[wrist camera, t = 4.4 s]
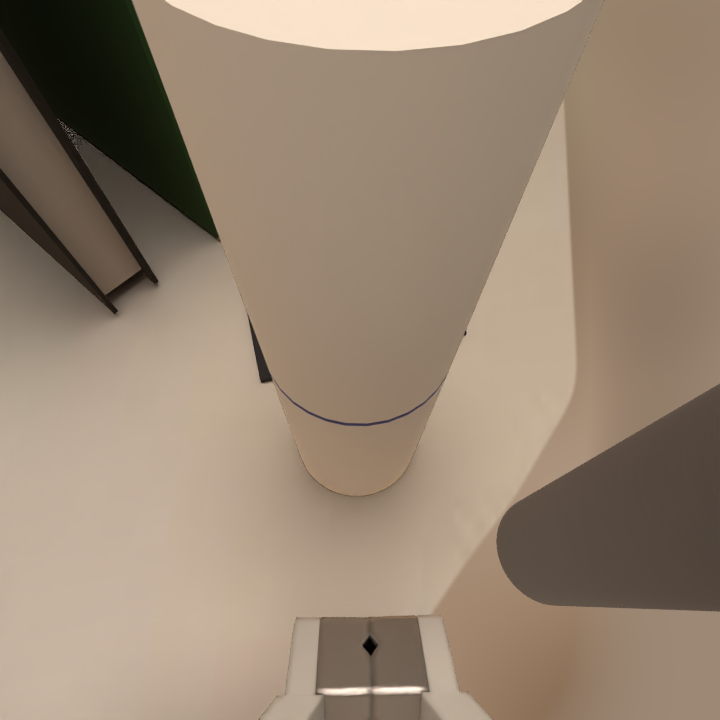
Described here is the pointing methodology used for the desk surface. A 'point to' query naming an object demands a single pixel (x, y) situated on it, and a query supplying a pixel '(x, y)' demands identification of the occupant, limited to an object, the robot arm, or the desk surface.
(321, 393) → the cylindrical container
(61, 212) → the ring binders
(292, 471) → the desk surface
